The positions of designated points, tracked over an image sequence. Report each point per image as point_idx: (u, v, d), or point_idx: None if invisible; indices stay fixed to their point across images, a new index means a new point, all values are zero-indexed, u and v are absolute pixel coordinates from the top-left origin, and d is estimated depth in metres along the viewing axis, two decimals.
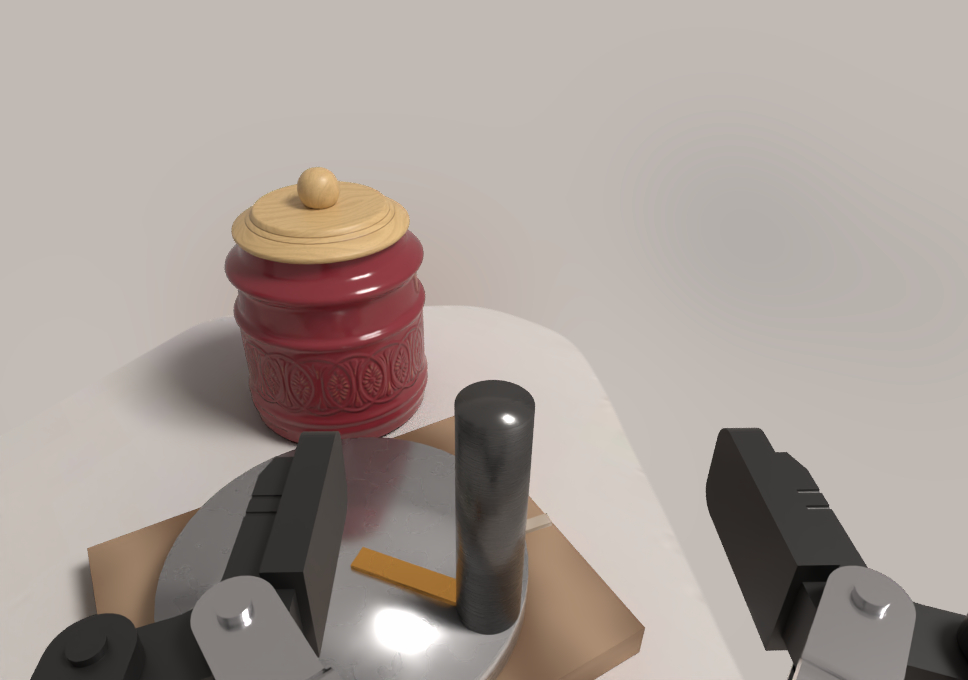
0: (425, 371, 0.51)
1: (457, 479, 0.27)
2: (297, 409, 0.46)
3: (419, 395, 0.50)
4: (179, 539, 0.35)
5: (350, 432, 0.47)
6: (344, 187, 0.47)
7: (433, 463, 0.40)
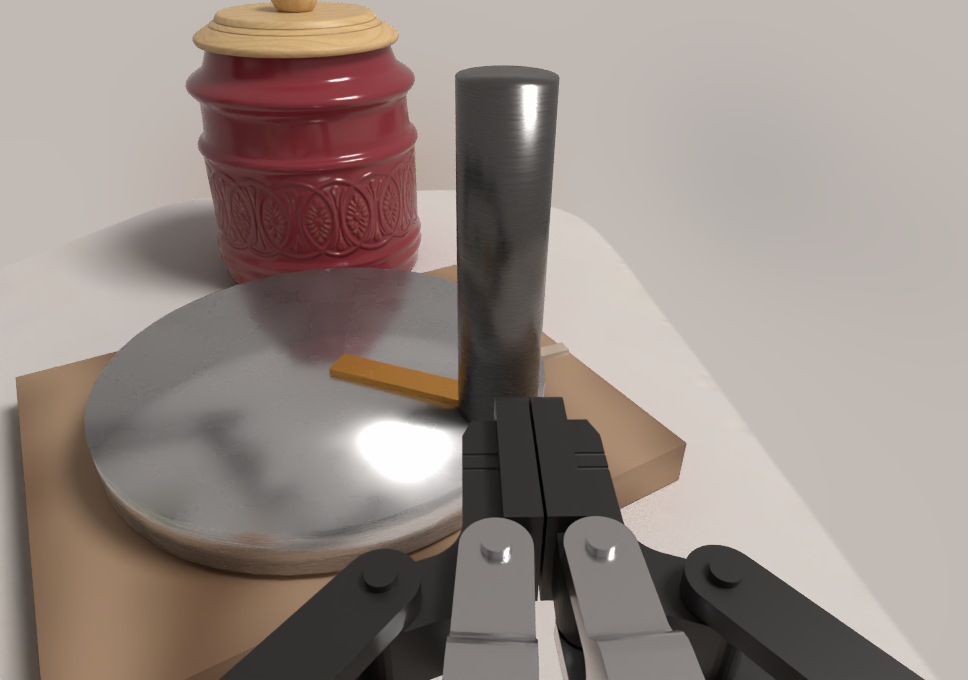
0: (418, 227, 0.45)
1: (459, 193, 0.21)
2: (272, 253, 0.40)
3: (411, 251, 0.44)
4: (122, 351, 0.29)
5: None
6: (323, 4, 0.41)
7: (428, 287, 0.34)
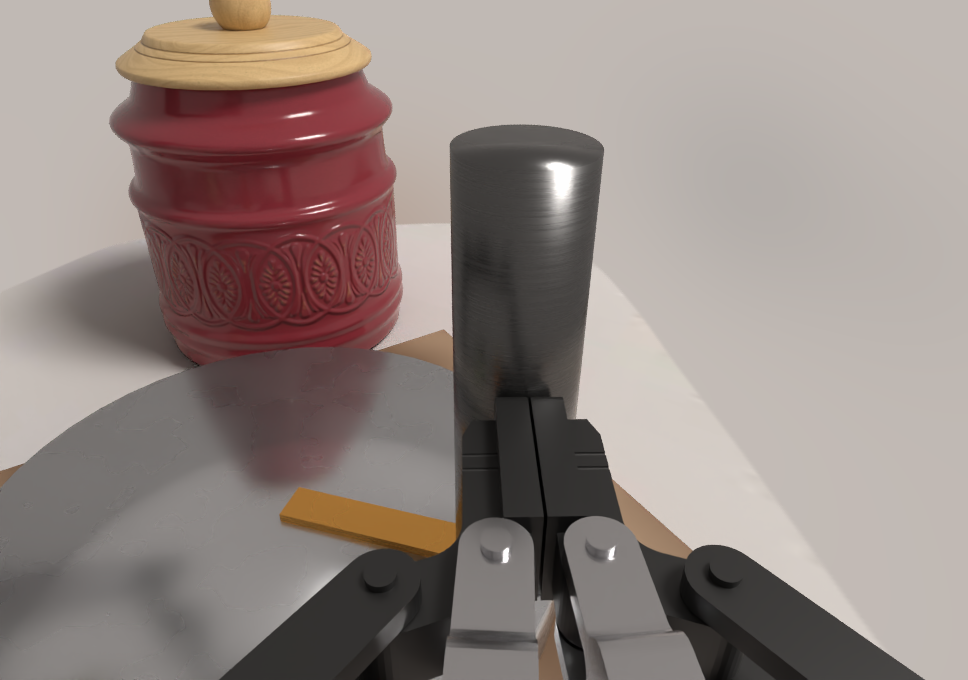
0: (399, 280, 0.38)
1: (458, 310, 0.15)
2: (220, 322, 0.33)
3: (391, 310, 0.37)
4: None
5: None
6: (280, 18, 0.34)
7: (400, 373, 0.28)
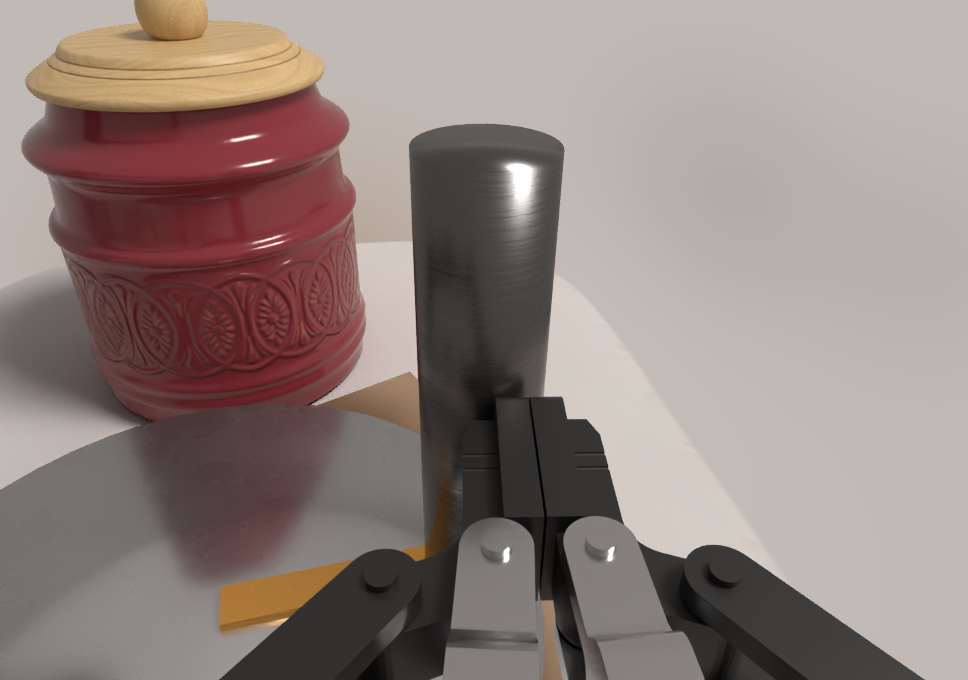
0: (361, 314, 0.35)
1: (446, 326, 0.14)
2: (156, 370, 0.29)
3: (353, 348, 0.34)
4: None
5: (244, 403, 0.30)
6: (221, 24, 0.30)
7: (246, 425, 0.25)
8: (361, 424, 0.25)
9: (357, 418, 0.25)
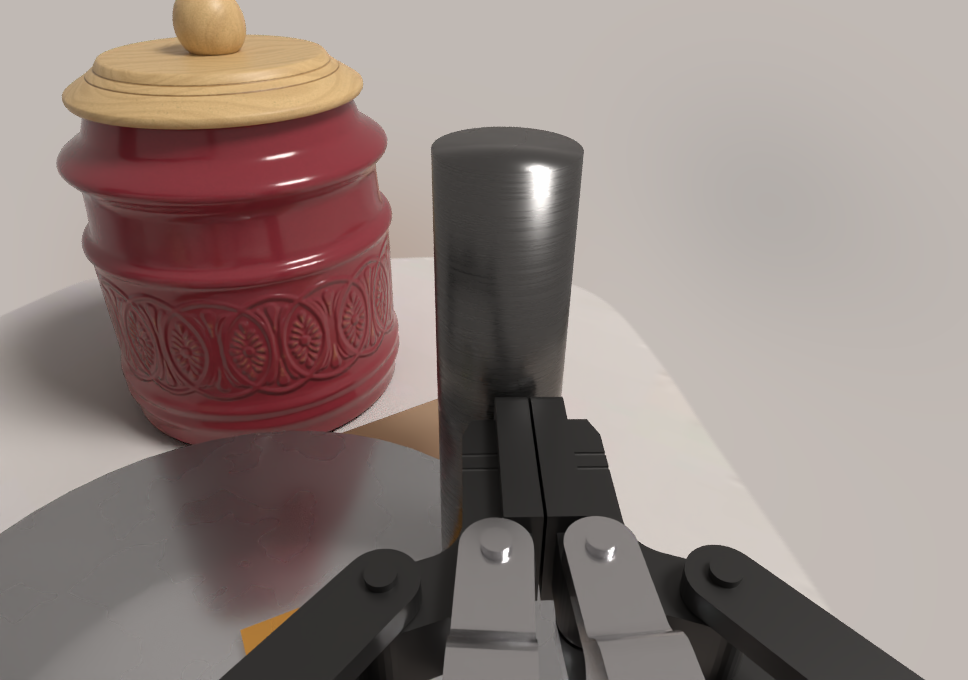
0: (395, 334, 0.34)
1: (480, 328, 0.14)
2: (185, 390, 0.28)
3: (385, 370, 0.33)
4: None
5: (273, 426, 0.29)
6: (259, 38, 0.30)
7: (220, 461, 0.23)
8: (342, 443, 0.24)
9: (336, 438, 0.24)
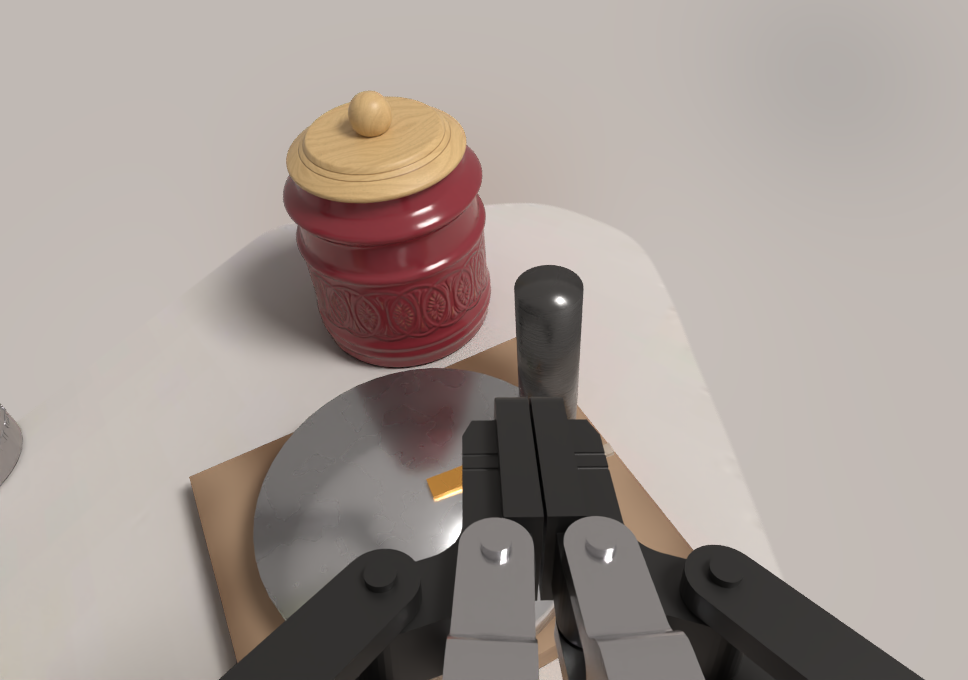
0: (488, 288, 0.51)
1: (536, 362, 0.32)
2: (366, 335, 0.47)
3: (483, 313, 0.50)
4: (273, 595, 0.34)
5: (417, 354, 0.48)
6: (396, 105, 0.44)
7: (398, 387, 0.43)
8: (463, 376, 0.43)
9: (459, 373, 0.43)
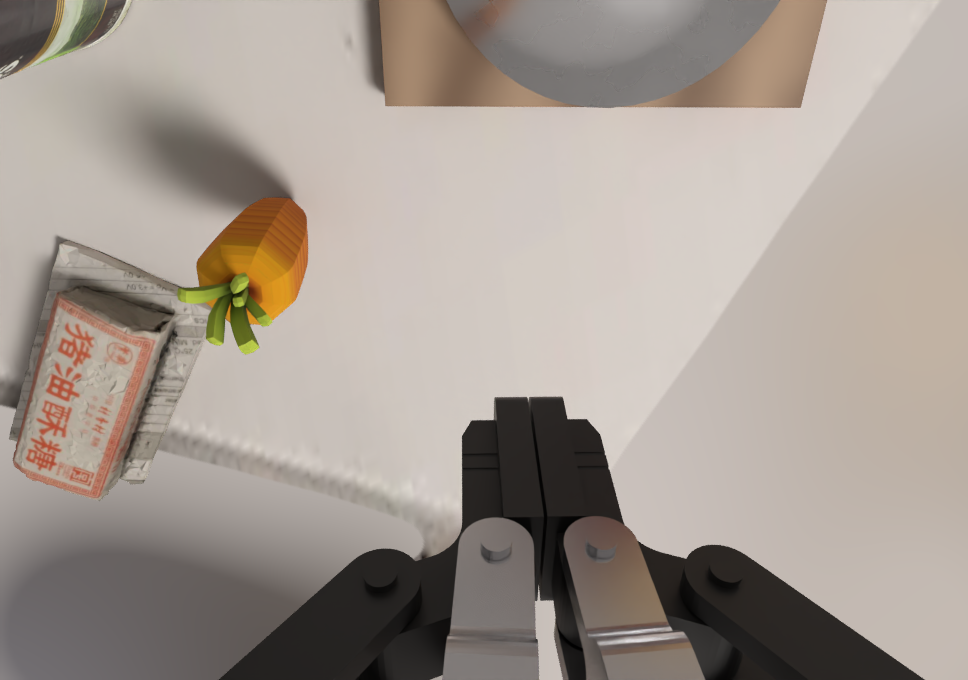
0: None
1: None
2: None
3: None
4: None
5: None
6: None
7: None
8: None
9: None
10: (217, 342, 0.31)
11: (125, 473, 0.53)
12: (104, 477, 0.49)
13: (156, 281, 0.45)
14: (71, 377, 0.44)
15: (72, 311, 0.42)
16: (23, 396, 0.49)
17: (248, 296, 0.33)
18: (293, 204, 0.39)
